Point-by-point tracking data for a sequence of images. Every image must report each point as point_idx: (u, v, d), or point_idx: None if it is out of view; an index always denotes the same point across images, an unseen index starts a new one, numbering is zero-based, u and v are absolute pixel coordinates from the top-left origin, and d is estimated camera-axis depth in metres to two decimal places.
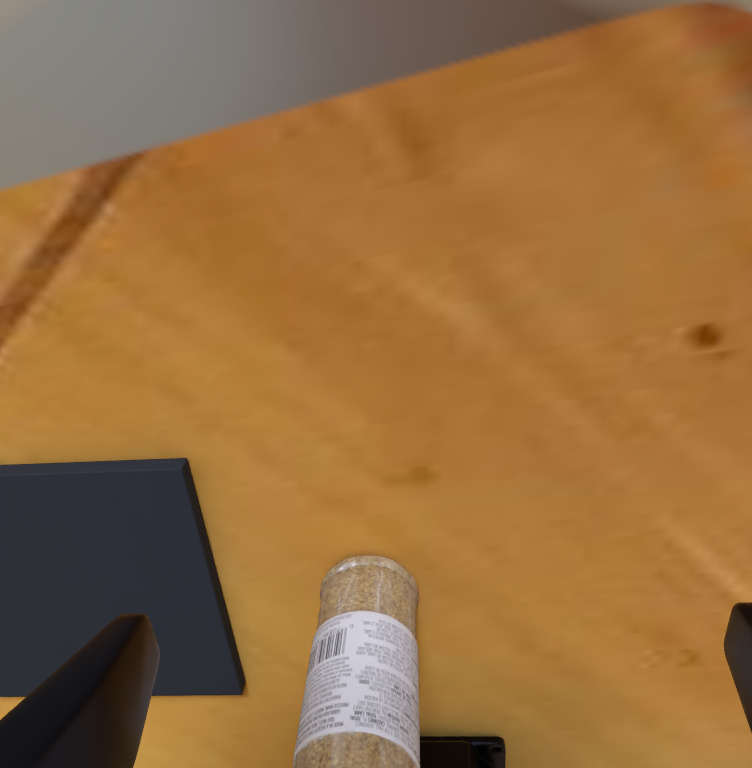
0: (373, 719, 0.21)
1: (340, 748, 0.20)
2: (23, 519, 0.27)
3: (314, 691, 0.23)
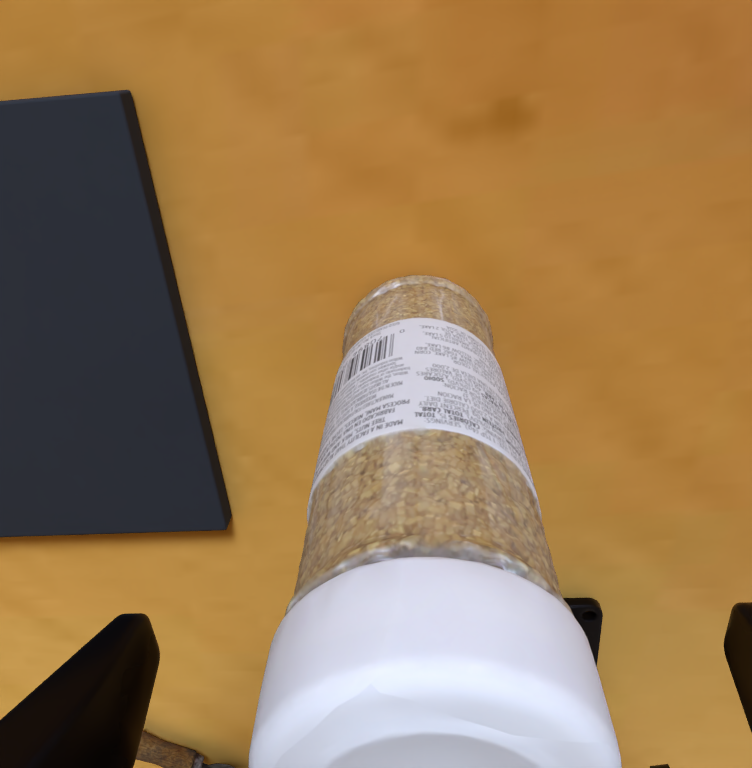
0: (458, 417, 0.11)
1: (401, 450, 0.10)
2: None
3: (344, 408, 0.13)
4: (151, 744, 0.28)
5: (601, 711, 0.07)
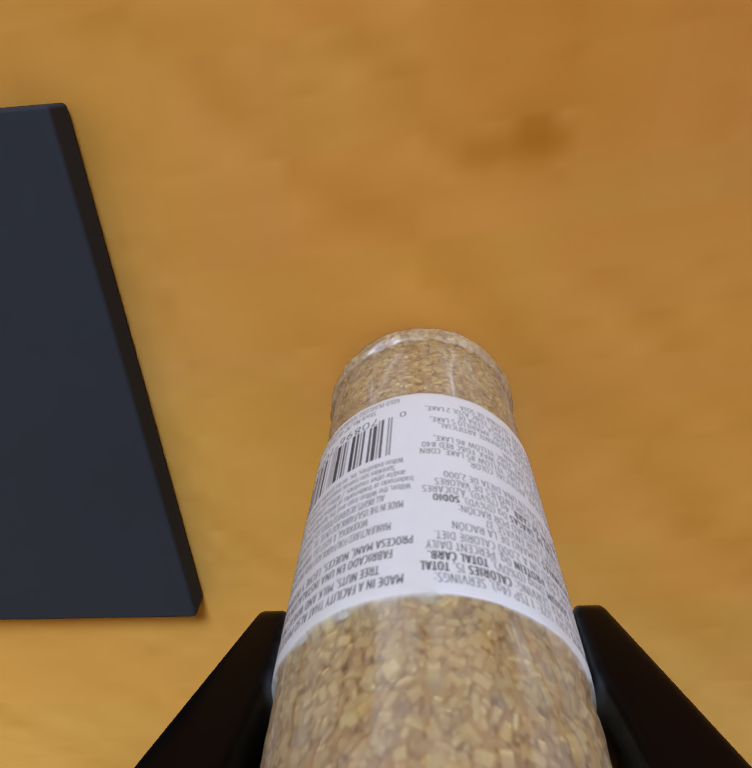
0: (481, 570, 0.08)
1: (400, 633, 0.07)
2: None
3: (324, 530, 0.10)
4: None
5: None
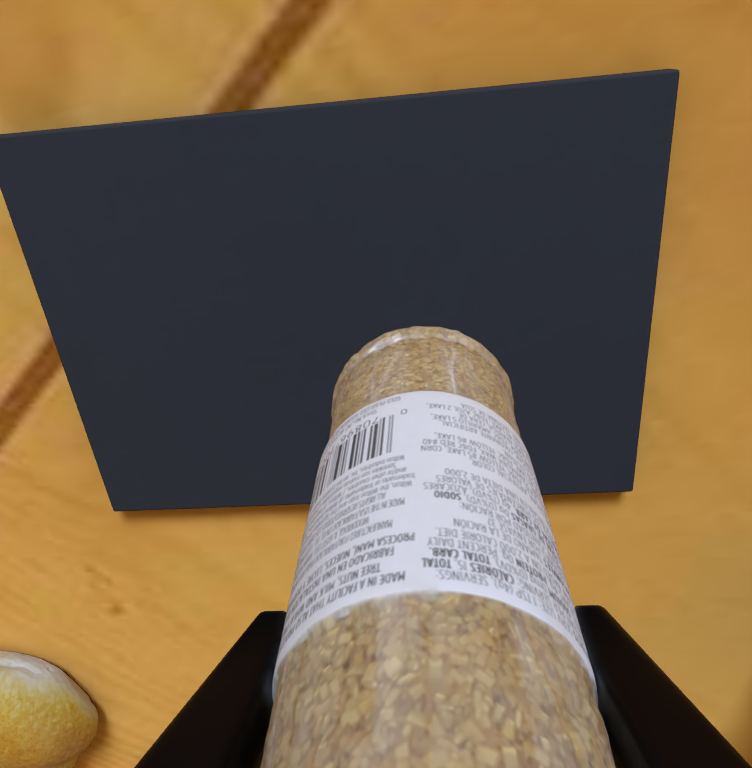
0: (484, 567, 0.08)
1: (403, 631, 0.07)
2: (406, 183, 0.19)
3: (325, 528, 0.10)
4: None
5: None
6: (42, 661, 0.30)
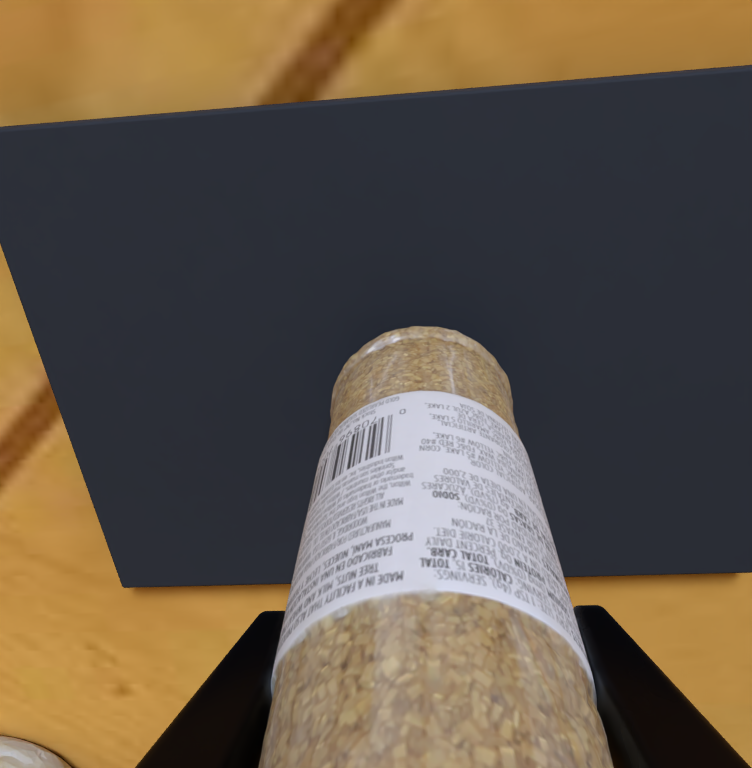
0: (482, 567, 0.08)
1: (400, 631, 0.07)
2: (517, 199, 0.14)
3: (323, 527, 0.10)
4: None
5: None
6: (33, 746, 0.26)
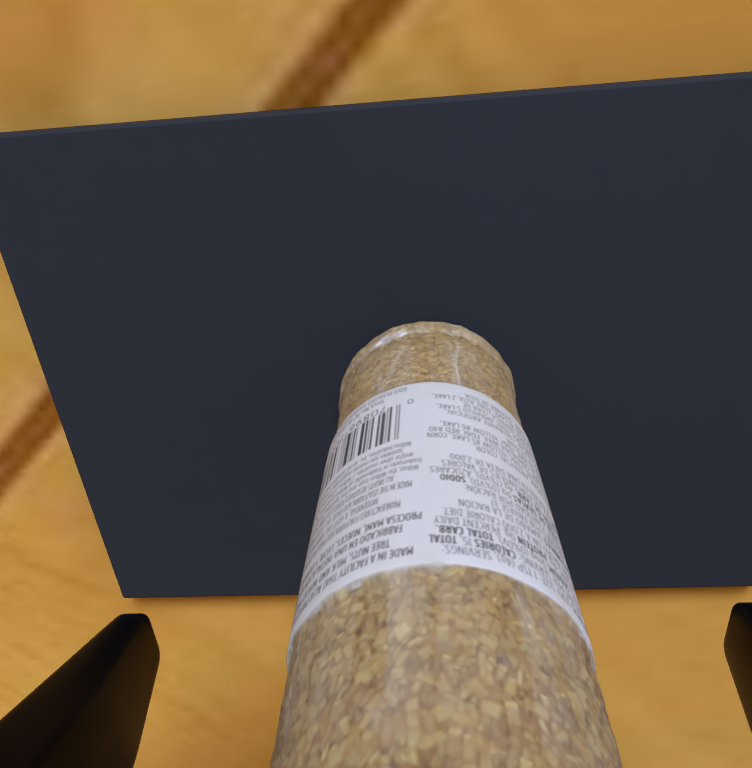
0: (487, 543, 0.08)
1: (411, 600, 0.08)
2: (526, 207, 0.14)
3: (336, 509, 0.10)
4: None
5: None
6: None
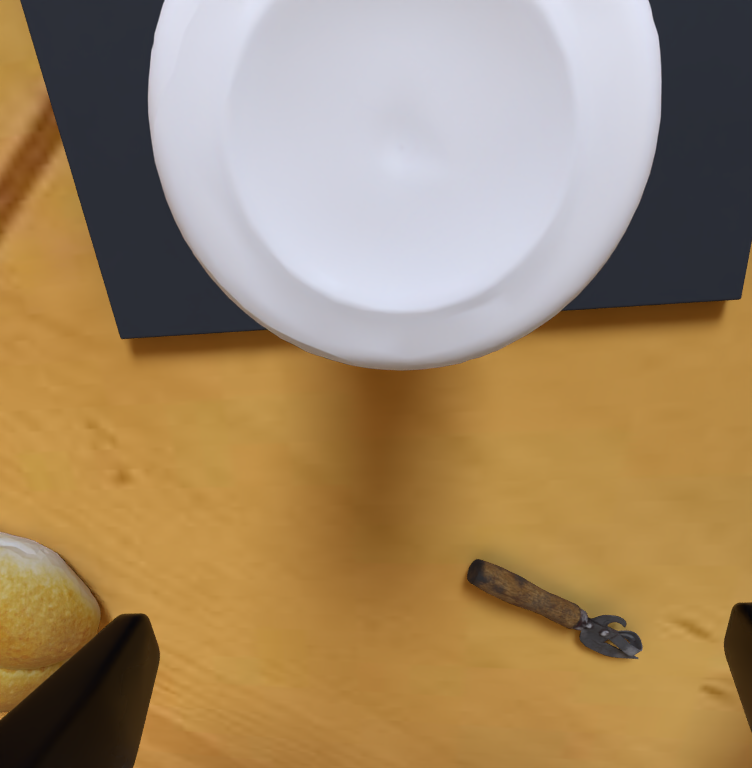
0: None
1: None
2: None
3: None
4: (539, 591, 0.26)
5: None
6: (36, 543, 0.26)
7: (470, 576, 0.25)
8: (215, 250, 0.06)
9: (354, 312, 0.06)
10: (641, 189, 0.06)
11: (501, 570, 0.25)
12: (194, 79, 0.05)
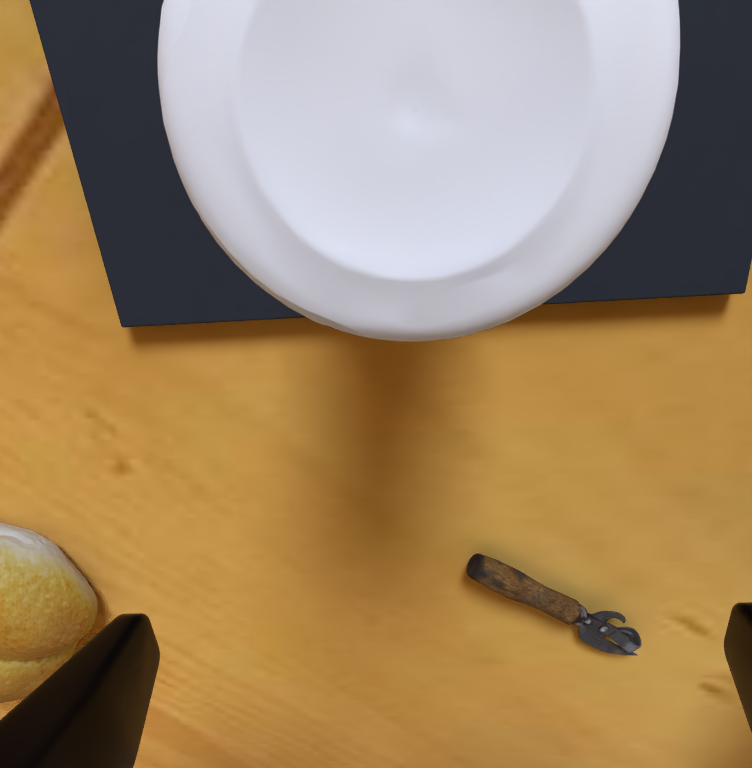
0: None
1: None
2: None
3: None
4: (539, 586, 0.26)
5: None
6: (34, 533, 0.26)
7: (470, 570, 0.25)
8: (223, 214, 0.06)
9: (364, 279, 0.06)
10: (657, 155, 0.06)
11: (501, 564, 0.25)
12: (205, 35, 0.05)
